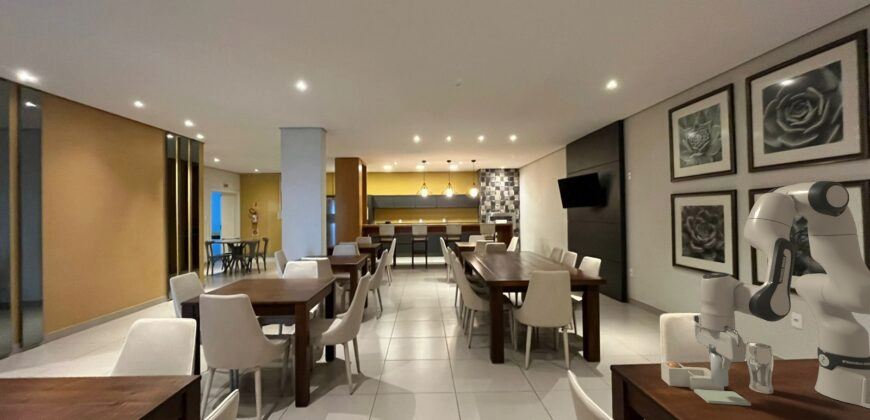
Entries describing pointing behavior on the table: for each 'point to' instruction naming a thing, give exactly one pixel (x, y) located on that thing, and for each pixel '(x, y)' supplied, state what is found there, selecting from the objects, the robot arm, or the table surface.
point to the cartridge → (717, 368)
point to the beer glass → (760, 366)
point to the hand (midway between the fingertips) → (719, 365)
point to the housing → (688, 377)
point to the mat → (722, 397)
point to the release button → (673, 365)
